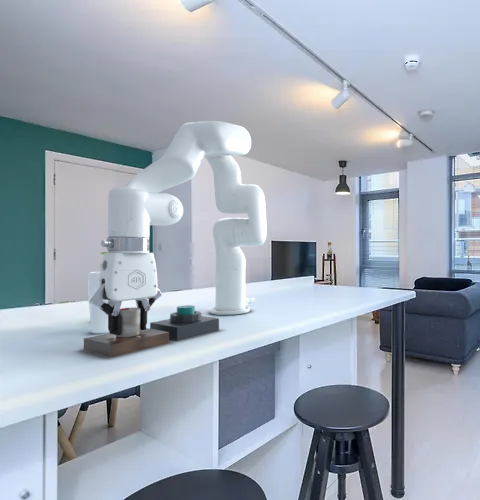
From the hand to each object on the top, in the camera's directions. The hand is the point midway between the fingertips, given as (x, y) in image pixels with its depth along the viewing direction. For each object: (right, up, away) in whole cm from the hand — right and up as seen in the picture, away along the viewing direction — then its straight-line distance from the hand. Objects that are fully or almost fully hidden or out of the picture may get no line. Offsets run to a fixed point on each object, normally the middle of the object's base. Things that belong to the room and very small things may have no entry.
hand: (128, 330), depth 74 cm
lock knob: (0, -1, 0) cm, 1 cm away
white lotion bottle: (-15, -4, +13) cm, 20 cm away
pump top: (+6, +1, +12) cm, 14 cm away
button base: (+6, -4, +12) cm, 14 cm away
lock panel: (0, -3, 0) cm, 3 cm away
